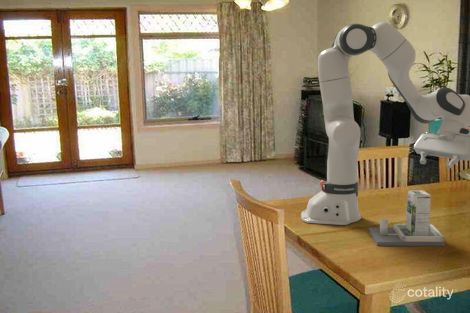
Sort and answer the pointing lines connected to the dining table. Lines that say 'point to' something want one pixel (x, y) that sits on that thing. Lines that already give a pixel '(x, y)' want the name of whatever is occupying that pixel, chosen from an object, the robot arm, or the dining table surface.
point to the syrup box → (418, 213)
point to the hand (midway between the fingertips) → (434, 164)
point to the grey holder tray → (404, 236)
